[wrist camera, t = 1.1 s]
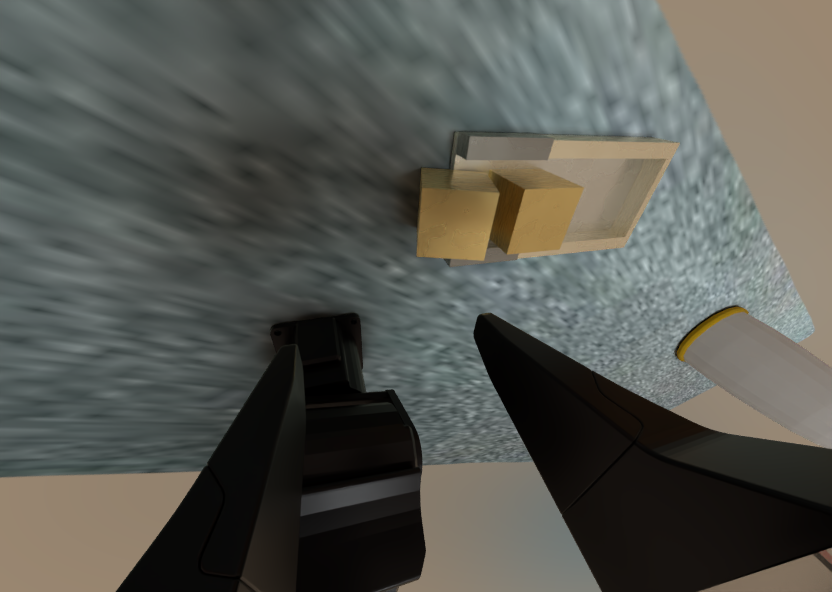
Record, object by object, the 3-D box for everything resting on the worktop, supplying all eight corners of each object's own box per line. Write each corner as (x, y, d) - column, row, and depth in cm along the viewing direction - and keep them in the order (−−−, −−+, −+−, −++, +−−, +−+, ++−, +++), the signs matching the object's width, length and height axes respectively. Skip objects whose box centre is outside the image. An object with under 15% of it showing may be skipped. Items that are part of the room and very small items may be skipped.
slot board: (439, 252, 23) (449, 266, 21) (454, 129, 18) (470, 136, 16) (604, 237, 27) (623, 248, 25) (653, 135, 22) (681, 141, 20)
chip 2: (524, 224, 23) (559, 249, 20) (477, 227, 22) (506, 254, 18) (541, 169, 20) (584, 187, 17) (489, 169, 19) (525, 189, 16)
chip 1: (473, 231, 21) (483, 260, 18) (417, 228, 21) (416, 256, 18) (485, 172, 19) (499, 192, 15) (421, 167, 18) (421, 187, 15)
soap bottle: (683, 364, 52) (918, 548, 32) (665, 348, 46) (945, 566, 26) (746, 319, 48) (1056, 496, 28) (735, 294, 42) (1128, 501, 22)
